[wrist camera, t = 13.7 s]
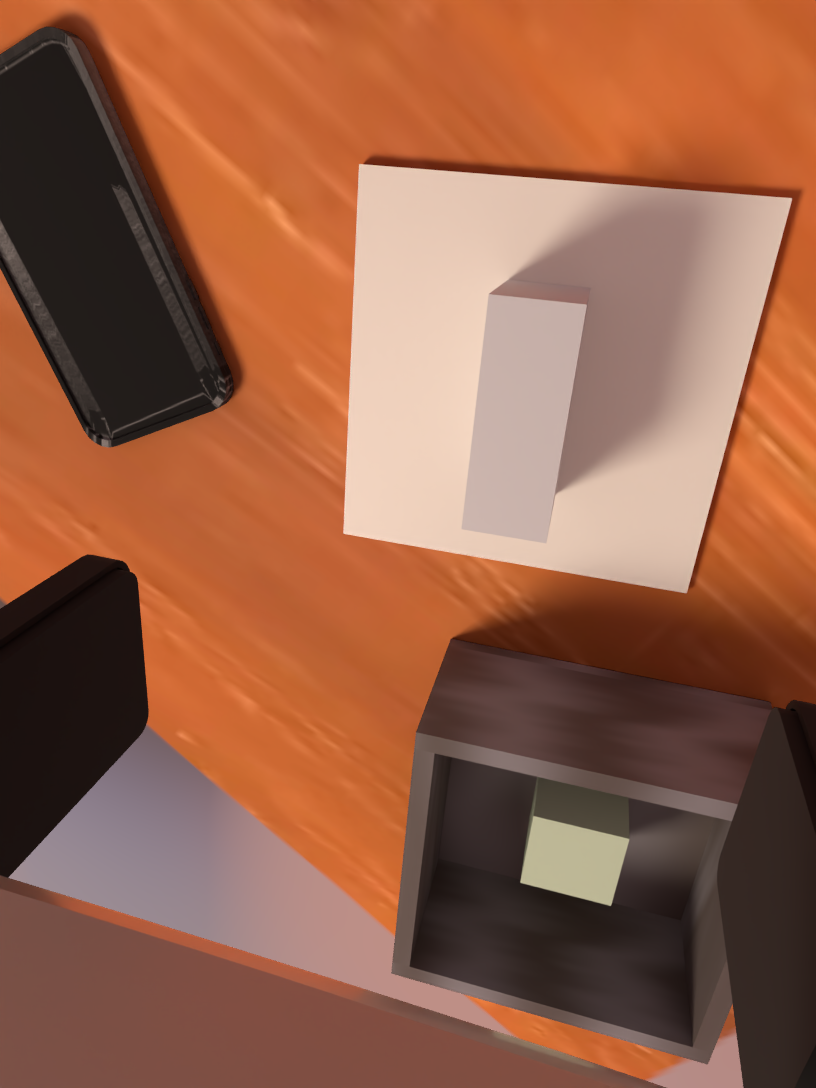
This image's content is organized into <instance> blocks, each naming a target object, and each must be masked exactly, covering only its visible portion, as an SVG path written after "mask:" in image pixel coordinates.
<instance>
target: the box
mask: <svg viewBox="0 0 816 1088" xmlns="http://www.w3.org/2000/svg"><path fill="white" fill-rule="evenodd" d="M771 710H772V706H771V703H770V702H767V701H762V700H757V699H752V698H747V697H742V696H737V695H732V694H727V693H722V692H717V691H712V690H707V689H702V688H697V687H692V686H687V685H682V684H677V683H672V682H667V681H662V680H657V679H652V678H647V677H641V676H636V675H631V674H626V673H621V672H616V671H611V670H606V669H601V668H596V667H591V666H586V665H581V664H576V663H571V662H566V661H561V660H556V659H551V658H546V657H541V656H536V655H531V654H526V653H521V652H516V651H511V650H506V649H501V648H496V647H491V646H486V645H481V644H476V643H471V642H465V641H460V640H455V639H451V640H450V643H449V646H448V648H447V651H446V654H445V656H444V659H443V662H442V664H441V667H440V670H439V672H438V675H437V678H436V680H435V683H434V686H433V688H432V691H431V694H430V696H429V699H428V702H427V704H426V707H425V710H424V712H423V715H422V718H421V720H420V723H419V726H418V729H417V731H416V738H415V748H414V758H413V768H412V777H411V787H410V797H409V807H408V816H407V826H406V836H405V846H404V855H403V865H402V875H401V885H400V894H399V904H398V914H397V924H396V933H395V943H394V953H393V963H392V972H391V973H392V974H395V975H399V976H403V977H406V978H409V979H413V980H416V981H420V982H423V983H427V984H430V985H434V986H437V987H440V988H444V989H447V990H451V991H454V992H458V993H461V994H465V995H468V996H472V997H475V998H479V999H482V1000H486V1001H489V1002H493V1003H496V1004H499V1005H503V1006H506V1007H510V1008H513V1009H517V1010H520V1011H524V1012H527V1013H531V1014H534V1015H538V1016H541V1017H545V1018H548V1019H552V1020H555V1021H559V1022H562V1023H565V1024H569V1025H572V1026H576V1027H579V1028H583V1029H586V1030H590V1031H593V1032H597V1033H600V1034H604V1035H607V1036H611V1037H614V1038H618V1039H621V1040H625V1041H628V1042H631V1043H635V1044H638V1045H642V1046H645V1047H649V1048H652V1049H656V1050H659V1051H663V1052H666V1053H670V1054H673V1055H677V1056H680V1057H684V1058H687V1059H691V1060H694V1061H698V1062H701V1063H705V1064H708V1062H709V1060H710V1057H711V1055H712V1052H713V1050H714V1048H715V1045H716V1043H717V1040H718V1038H719V1035H720V1033H721V1031H722V1028H723V1026H724V1023H725V1021H726V1018H727V1016H728V1013H729V1011H730V1008H731V1006H732V1004H733V1002H732V994H731V986H730V979H729V971H728V963H727V956H726V948H725V940H724V933H723V925H722V917H721V909H720V902H719V894H718V886H717V870H718V862H719V858H720V854H721V851H722V848H723V845H724V842H725V840H726V837H727V834H728V831H729V828H730V825H731V822H732V819H733V817H734V814H735V811H736V808H737V805H738V802H739V799H740V797H741V794H742V791H743V788H744V785H745V782H746V779H747V776H748V774H749V771H750V768H751V765H752V762H753V759H754V756H755V753H756V751H757V748H758V745H759V742H760V739H761V736H762V733H763V730H764V728H765V725H766V722H767V719H768V716H769V714H770V712H771ZM537 777H541V778H545V779H549V780H554V781H558V782H562V783H567V784H571V785H576V786H580V787H584V788H589V789H593V790H597V791H602V792H606V793H610V794H615V795H619V796H624V797H628V799H629V843H628V846H627V850H626V854H625V857H624V861H623V864H622V868H621V872H620V875H619V879H618V883H617V886H616V890H615V893H614V897H613V901H612V904H611V906H609V905H605V904H602V903H598V902H594V901H590V900H586V899H582V898H578V897H574V896H570V895H566V894H563V893H559V892H555V891H551V890H547V889H543V888H539V887H535V886H531V885H527V884H523V883H520V881H521V874H522V866H523V859H524V852H525V845H526V837H527V830H528V823H529V816H530V811H531V806H532V801H533V796H534V791H535V786H536V781H537Z"/></svg>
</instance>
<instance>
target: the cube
mask: <svg viewBox="0 0 816 1088" xmlns="http://www.w3.org/2000/svg"><path fill="white" fill-rule="evenodd" d="M628 843H629V799H628V797H624V796H619V795H615V794H610V793H606V792H602V791H597V790H593V789H589V788H584V787H580V786H576V785H571V784H567V783H562V782H558V781H554V780H549V779H545V778H541V777H537V781H536V786H535V791H534V796H533V801H532V806H531V811H530V816H529V823H528V830H527V837H526V845H525V852H524V859H523V866H522V874H521V881H520V883H523V884H527V885H531V886H535V887H539V888H543V889H547V890H551V891H555V892H559V893H563V894H566V895H570V896H574V897H578V898H582V899H586V900H590V901H594V902H598V903H602V904H605V905H609V906H611V904H612V901H613V897H614V893H615V890H616V886H617V883H618V879H619V875H620V872H621V868H622V864H623V861H624V857H625V854H626V850H627V846H628Z"/></svg>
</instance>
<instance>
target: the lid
mask: <svg viewBox="0 0 816 1088" xmlns="http://www.w3.org/2000/svg"><path fill="white" fill-rule="evenodd" d="M791 202H792V198H783V197H770V196H758V195H745V194H732V193H720V192H707V191H694V190H682V189H669V188H656V187H644V186H631V185H618V184H606V183H593V182H580V181H568V180H555V179H542V178H530V177H517V176H504V175H492V174H479V173H466V172H454V171H441V170H428V169H416V168H403V167H390V166H378V165H365V164H359V179H358V203H357V227H356V250H355V274H354V297H353V321H352V345H351V368H350V392H349V415H348V439H347V463H346V486H345V510H344V533H343V534H348V535H354V536H360V537H365V538H371V539H377V540H383V541H388V542H394V543H400V544H406V545H411V546H417V547H423V548H429V549H434V550H440V551H446V552H452V553H457V554H463V555H469V556H475V557H480V558H486V559H492V560H497V561H503V562H509V563H515V564H520V565H526V566H532V567H538V568H543V569H549V570H555V571H561V572H566V573H572V574H578V575H584V576H589V577H595V578H601V579H607V580H612V581H618V582H624V583H630V584H635V585H641V586H647V587H653V588H658V589H664V590H670V591H676V592H681V593H687V591H688V587H689V583H690V579H691V576H692V572H693V568H694V564H695V561H696V557H697V553H698V549H699V546H700V542H701V538H702V534H703V531H704V527H705V523H706V519H707V516H708V512H709V508H710V504H711V501H712V497H713V493H714V490H715V486H716V482H717V478H718V475H719V471H720V467H721V463H722V460H723V456H724V452H725V448H726V445H727V441H728V437H729V433H730V430H731V426H732V422H733V418H734V415H735V411H736V407H737V404H738V400H739V396H740V392H741V389H742V385H743V381H744V377H745V374H746V370H747V366H748V362H749V359H750V355H751V351H752V347H753V344H754V340H755V336H756V332H757V329H758V325H759V321H760V317H761V314H762V310H763V306H764V303H765V299H766V295H767V291H768V288H769V284H770V280H771V276H772V273H773V269H774V265H775V261H776V258H777V254H778V250H779V246H780V243H781V239H782V235H783V231H784V228H785V224H786V220H787V216H788V213H789V209H790V205H791Z"/></svg>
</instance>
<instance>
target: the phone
mask: <svg viewBox="0 0 816 1088" xmlns="http://www.w3.org/2000/svg"><path fill="white" fill-rule="evenodd" d="M0 269H1V271H2V272H3V274H4V276H5V278H6V280H7V282H8V284H9V286H10V288H11V290H12V292H13V294H14V296H15V298H16V300H17V301H18V303H19V305H20V307H21V309H22V311H23V313H24V315H25V317H26V319H27V321H28V323H29V325H30V327H31V329H32V331H33V332H34V334H35V336H36V338H37V340H38V342H39V344H40V346H41V348H42V350H43V352H44V354H45V356H46V358H47V360H48V362H49V363H50V365H51V367H52V369H53V371H54V373H55V375H56V377H57V379H58V381H59V383H60V385H61V387H62V389H63V391H64V392H65V394H66V396H67V398H68V400H69V402H70V404H71V406H72V408H73V410H74V412H75V414H76V416H77V418H78V420H79V422H80V423H81V425H82V427H83V429H84V431H85V432H86V434H87V435H88V437H89V438H90V439H91V440H93V441H94V442H95V443H97V444H99V445H101V446H104V447H114V446H118V445H120V444H123V443H126V442H129V441H131V440H134V439H137V438H140V437H142V436H145V435H148V434H151V433H153V432H156V431H159V430H161V429H164V428H167V427H170V426H172V425H175V424H178V423H181V422H183V421H186V420H189V419H192V418H194V417H197V416H200V415H202V414H205V413H208V412H211V411H213V410H215V409H217V408H219V407H221V406H222V405H224V404H226V403H227V402H228V400H229V399H230V398H231V396H232V393H233V378H232V375H231V372H230V370H229V367H228V365H227V363H226V361H225V358H224V356H223V354H222V351H221V349H220V347H219V344H218V342H217V340H216V338H215V336H214V333H213V331H212V329H211V325H210V323H209V321H208V319H207V316H206V314H205V312H204V310H203V307H202V306H201V304H200V302H199V297H198V295H197V293H196V290H195V288H194V286H193V284H192V281H191V279H189V277H188V274H187V272H186V270H185V267H184V265H183V263H182V261H181V258H180V256H179V254H178V252H177V249H176V247H175V245H174V242H173V240H172V238H171V236H170V233H169V231H168V229H167V227H166V224H165V222H164V220H163V218H162V215H161V213H160V211H159V208H158V206H157V204H156V202H155V199H154V197H153V195H152V193H151V190H150V188H149V186H148V183H147V181H146V179H145V177H144V174H143V172H142V170H141V168H140V165H139V163H138V161H137V158H136V156H135V154H134V152H133V149H132V147H131V145H130V143H129V140H128V138H127V136H126V133H125V131H124V129H123V127H122V124H121V122H120V120H119V118H118V115H117V113H116V111H115V108H114V106H113V104H112V102H111V99H110V97H109V95H108V93H107V90H106V88H105V86H104V83H103V81H102V79H101V77H100V74H99V72H98V70H97V68H96V65H95V63H94V61H93V59H92V56H91V54H90V52H89V50H88V49H87V47H86V45H85V44H84V42H83V41H82V40H81V39H80V38H79V37H78V36H76V35H74V34H72V33H70V32H68V31H65V30H62V29H59V28H55V27H44V28H42V29H39V30H37V31H36V32H34V33H33V34H31V35H30V36H28V37H26V38H25V39H23V40H22V41H20V42H19V43H17V44H16V45H14V46H13V47H11V48H10V49H8V50H6V51H5V52H3V53H2V54H0Z"/></svg>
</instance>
